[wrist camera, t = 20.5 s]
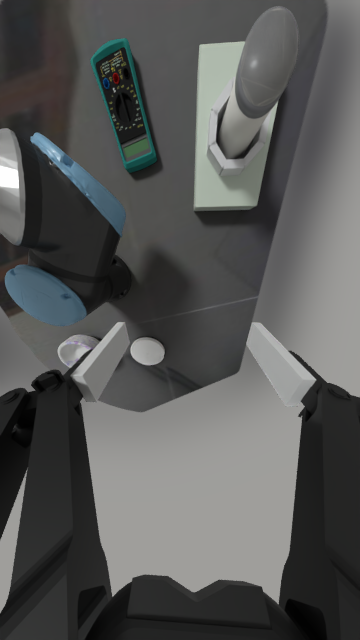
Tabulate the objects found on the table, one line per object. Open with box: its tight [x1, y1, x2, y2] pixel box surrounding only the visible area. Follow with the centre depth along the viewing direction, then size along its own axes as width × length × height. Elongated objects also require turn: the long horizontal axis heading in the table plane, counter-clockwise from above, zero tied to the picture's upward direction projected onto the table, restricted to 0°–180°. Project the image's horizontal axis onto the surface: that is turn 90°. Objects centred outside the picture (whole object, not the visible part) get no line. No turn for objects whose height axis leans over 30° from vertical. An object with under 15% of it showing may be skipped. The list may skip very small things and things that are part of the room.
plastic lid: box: [131, 337, 165, 365], centre depth 56 cm, size 14×14×2 cm
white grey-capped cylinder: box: [218, 6, 299, 160], centre depth 20 cm, size 6×6×12 cm
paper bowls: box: [58, 335, 100, 368], centre depth 53 cm, size 15×15×8 cm
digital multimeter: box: [90, 38, 157, 173], centre depth 27 cm, size 7×15×3 cm, turn 15°
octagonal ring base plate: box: [194, 42, 278, 211], centre depth 26 cm, size 14×20×7 cm
